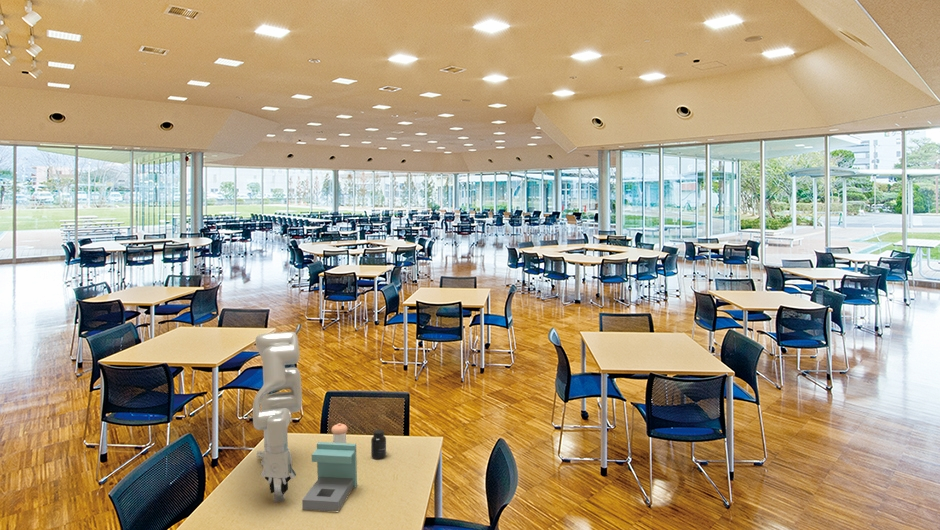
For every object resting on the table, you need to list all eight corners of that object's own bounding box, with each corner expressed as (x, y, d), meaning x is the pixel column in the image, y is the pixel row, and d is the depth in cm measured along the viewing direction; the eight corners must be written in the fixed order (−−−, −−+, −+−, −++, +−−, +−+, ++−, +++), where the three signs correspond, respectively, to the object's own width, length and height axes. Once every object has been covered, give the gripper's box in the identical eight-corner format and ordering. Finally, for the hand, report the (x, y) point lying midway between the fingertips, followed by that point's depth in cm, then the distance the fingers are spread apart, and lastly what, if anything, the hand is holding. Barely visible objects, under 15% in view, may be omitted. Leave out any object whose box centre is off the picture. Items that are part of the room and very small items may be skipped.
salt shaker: (350, 461, 243) (350, 420, 241) (345, 469, 236) (344, 427, 234) (335, 460, 244) (334, 420, 242) (329, 468, 236) (328, 426, 235)
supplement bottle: (383, 460, 244) (382, 435, 243) (369, 458, 246) (368, 433, 244) (388, 453, 251) (388, 429, 250) (374, 452, 252) (374, 427, 251)
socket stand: (299, 509, 203) (298, 464, 202) (319, 483, 223) (318, 441, 221) (340, 512, 202) (339, 466, 200) (356, 485, 222) (356, 443, 220)
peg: (272, 502, 209) (271, 472, 207) (276, 496, 213) (275, 467, 211) (281, 502, 208) (280, 473, 207) (286, 497, 212) (285, 468, 211)
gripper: (252, 450, 205) (253, 495, 207) (294, 452, 204) (295, 498, 206) (261, 442, 213) (263, 485, 215) (302, 444, 211) (303, 488, 213)
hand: (279, 491), depth 210 cm, fingers closed on peg, 4 cm apart
